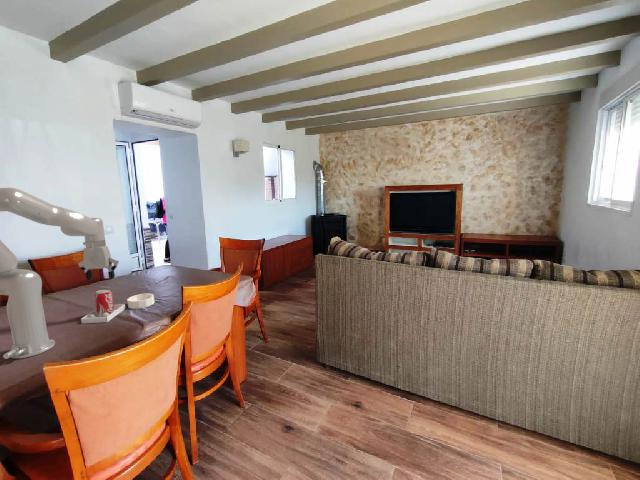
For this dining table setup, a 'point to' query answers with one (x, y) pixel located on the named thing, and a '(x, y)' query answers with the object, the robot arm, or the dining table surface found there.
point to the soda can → (104, 302)
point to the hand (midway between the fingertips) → (101, 279)
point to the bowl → (140, 301)
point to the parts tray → (103, 319)
